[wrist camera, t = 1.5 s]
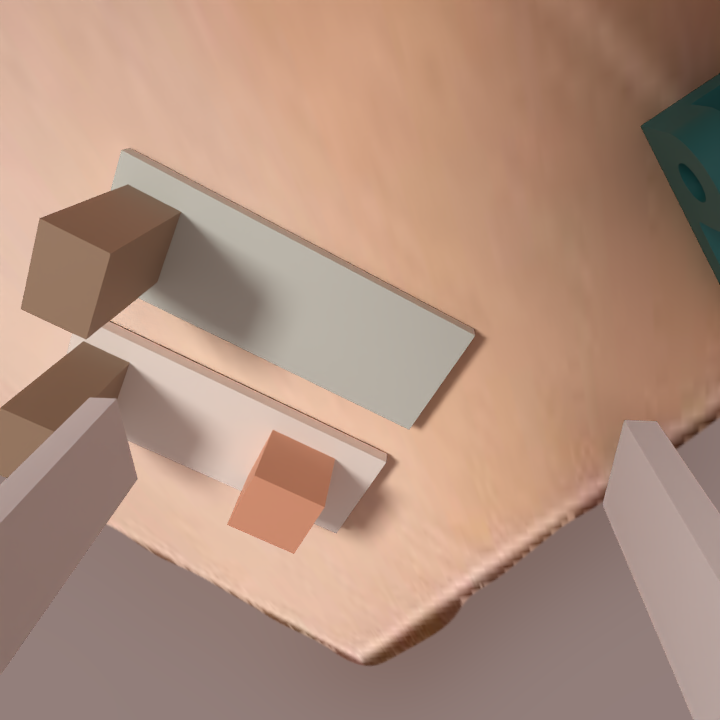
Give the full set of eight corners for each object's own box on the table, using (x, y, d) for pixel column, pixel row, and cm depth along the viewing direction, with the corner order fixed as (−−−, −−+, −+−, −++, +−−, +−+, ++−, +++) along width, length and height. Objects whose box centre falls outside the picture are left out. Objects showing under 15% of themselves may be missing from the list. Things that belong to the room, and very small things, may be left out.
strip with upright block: (96, 268, 42) (-1, 328, 33) (129, 147, 38) (28, 175, 28) (409, 421, 46) (406, 516, 36) (473, 328, 42) (490, 408, 32)
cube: (247, 476, 49) (227, 524, 44) (272, 429, 47) (254, 475, 41) (307, 502, 50) (293, 553, 45) (335, 458, 47) (324, 507, 42)
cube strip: (60, 399, 49) (-31, 482, 39) (85, 309, 44) (-11, 378, 34) (337, 524, 53) (319, 628, 43) (387, 453, 48) (378, 552, 38)
